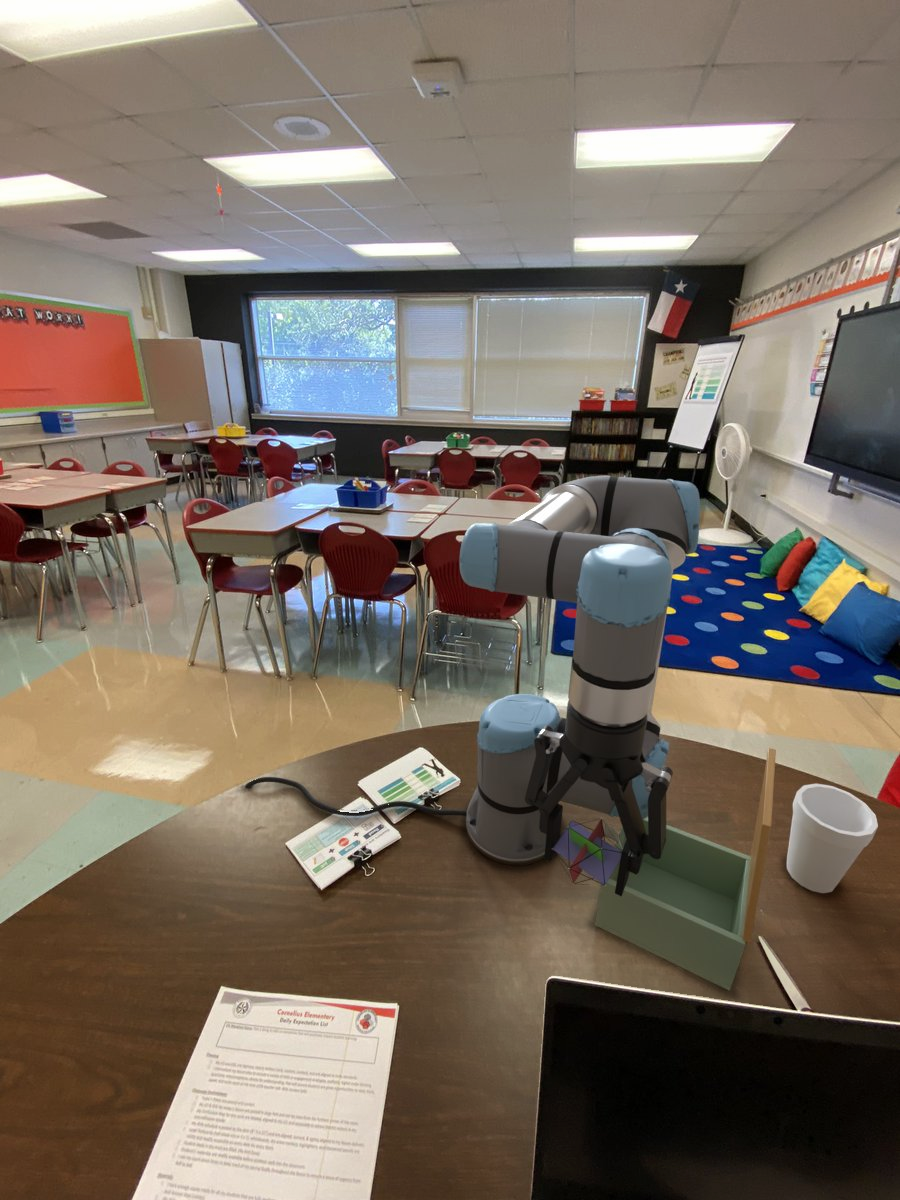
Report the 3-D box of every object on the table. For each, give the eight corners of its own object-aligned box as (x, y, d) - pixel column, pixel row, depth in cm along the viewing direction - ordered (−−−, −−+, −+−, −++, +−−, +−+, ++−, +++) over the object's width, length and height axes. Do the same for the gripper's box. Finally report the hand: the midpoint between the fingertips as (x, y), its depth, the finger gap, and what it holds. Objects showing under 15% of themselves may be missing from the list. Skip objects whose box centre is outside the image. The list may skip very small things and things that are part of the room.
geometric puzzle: (588, 909, 55) (619, 836, 56) (534, 868, 60) (563, 801, 60) (611, 900, 61) (639, 833, 61) (560, 863, 65) (586, 802, 66)
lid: (762, 824, 55) (771, 826, 55) (768, 747, 66) (776, 749, 66) (742, 940, 62) (750, 943, 61) (750, 853, 72) (757, 856, 72)
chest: (594, 925, 73) (601, 880, 70) (620, 852, 84) (628, 809, 80) (729, 991, 65) (745, 944, 62) (739, 901, 76) (753, 857, 72)
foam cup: (760, 859, 82) (781, 795, 77) (802, 839, 86) (824, 776, 80) (820, 913, 74) (848, 845, 69) (864, 888, 78) (894, 822, 72)
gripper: (728, 717, 50) (686, 885, 60) (526, 659, 60) (518, 810, 70) (716, 766, 44) (671, 942, 54) (495, 692, 54) (491, 853, 64)
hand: (585, 868), depth 62 cm, fingers closed on geometric puzzle, 7 cm apart
